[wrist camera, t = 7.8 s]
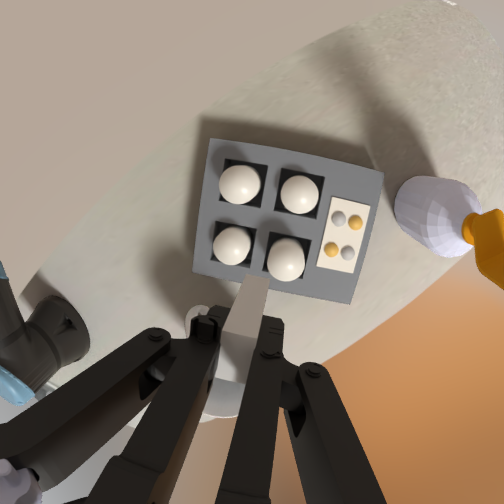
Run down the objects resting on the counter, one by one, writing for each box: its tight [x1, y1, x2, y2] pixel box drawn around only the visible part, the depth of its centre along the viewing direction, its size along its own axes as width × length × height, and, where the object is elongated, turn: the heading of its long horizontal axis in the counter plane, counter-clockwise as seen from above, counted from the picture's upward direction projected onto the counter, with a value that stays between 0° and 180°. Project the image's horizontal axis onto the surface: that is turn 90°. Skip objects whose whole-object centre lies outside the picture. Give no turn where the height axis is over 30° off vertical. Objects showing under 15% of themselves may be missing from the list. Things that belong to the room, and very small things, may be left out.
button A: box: [213, 224, 253, 265], centre depth 39 cm, size 4×4×4 cm
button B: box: [219, 165, 262, 204], centre depth 35 cm, size 4×4×4 cm
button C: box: [267, 236, 305, 281], centre depth 37 cm, size 4×4×4 cm
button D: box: [281, 175, 318, 214], centre depth 36 cm, size 4×4×4 cm
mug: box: [185, 305, 246, 418], centre depth 40 cm, size 15×11×13 cm
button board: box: [192, 138, 385, 305], centre depth 38 cm, size 22×18×4 cm
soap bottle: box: [394, 176, 504, 290], centre depth 25 cm, size 9×9×25 cm
